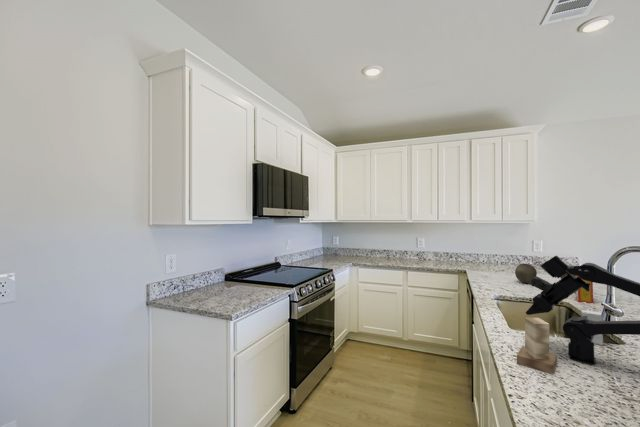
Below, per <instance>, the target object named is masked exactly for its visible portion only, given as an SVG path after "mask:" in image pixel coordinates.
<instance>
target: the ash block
mask: <svg viewBox="0 0 640 427" xmlns="http://www.w3.org/2000/svg"><path fill="white" fill-rule="evenodd" d="M524 347H525V351H526V352H527V353H528V354H530V355H531V356H532V357H533V358H535V359H549V353H550V323H548V322H546V321H545V320H543V319H542V318H540V317H525V318H524Z"/></svg>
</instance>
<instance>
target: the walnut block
mask: <svg viewBox="0 0 640 427" xmlns="http://www.w3.org/2000/svg"><path fill="white" fill-rule="evenodd" d="M516 365H519V366H521V367H522V366H523V367H525V368H526V367H527V368H529V369H533V370H537V371H540V372H543V373H547V374H551V375H555V371H556V368H557V365H558V354H556V353H552V352H549V359H535V358H533V357H532V356H531V355H530V354H528V353H527V352H526V351H525V345H522V346H521V348H520V350H519V351H518V352H517V354H516Z"/></svg>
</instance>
